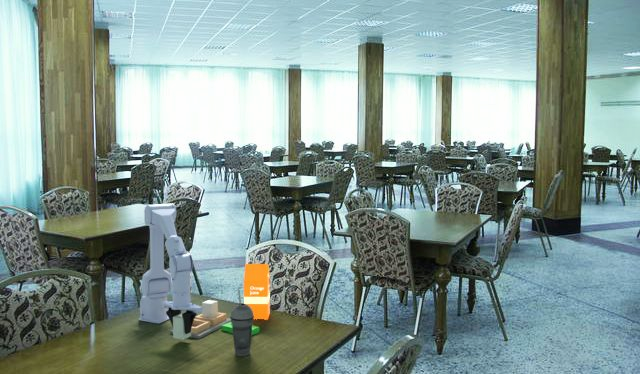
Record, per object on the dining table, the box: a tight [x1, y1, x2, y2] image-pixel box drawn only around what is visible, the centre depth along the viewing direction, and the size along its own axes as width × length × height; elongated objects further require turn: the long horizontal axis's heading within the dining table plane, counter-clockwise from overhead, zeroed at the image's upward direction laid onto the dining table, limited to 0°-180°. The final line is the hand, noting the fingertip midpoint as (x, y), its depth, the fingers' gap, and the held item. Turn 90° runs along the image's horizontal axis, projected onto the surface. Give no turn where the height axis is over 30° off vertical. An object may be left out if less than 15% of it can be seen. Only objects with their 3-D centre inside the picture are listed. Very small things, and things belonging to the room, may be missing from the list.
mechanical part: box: [221, 322, 260, 336], centre depth 199 cm, size 12×6×8 cm, turn 56°
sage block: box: [172, 313, 191, 341], centre depth 188 cm, size 4×4×7 cm
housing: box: [169, 311, 231, 340], centre depth 203 cm, size 12×20×3 cm, turn 155°
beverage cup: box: [229, 288, 254, 357], centre depth 178 cm, size 7×7×20 cm
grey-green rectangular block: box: [201, 299, 219, 319], centre depth 207 cm, size 4×4×7 cm
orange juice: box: [243, 263, 271, 321], centre depth 215 cm, size 8×9×20 cm
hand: (182, 331), depth 188 cm, fingers closed on sage block, 4 cm apart
